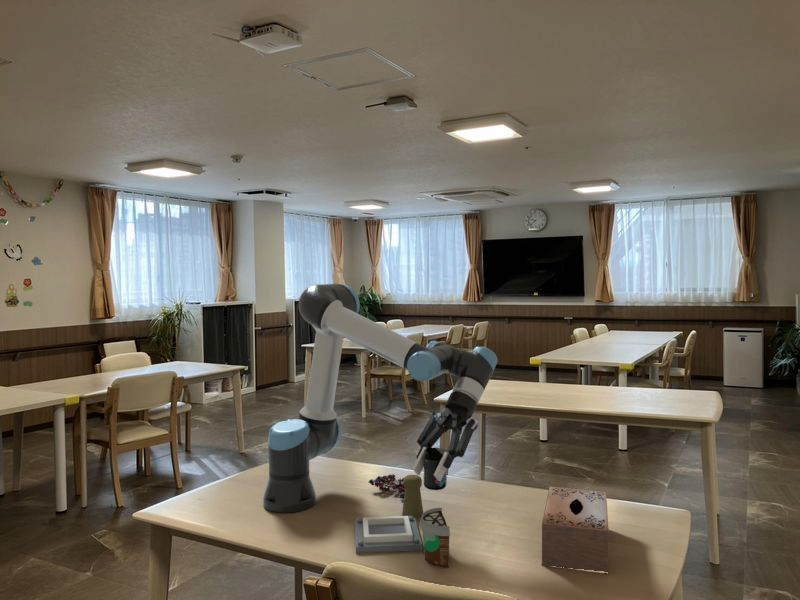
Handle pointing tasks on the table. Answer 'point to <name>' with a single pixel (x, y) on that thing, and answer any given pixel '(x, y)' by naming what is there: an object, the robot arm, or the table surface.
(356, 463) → the table surface
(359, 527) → the base plate
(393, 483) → the toy collection
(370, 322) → the robot arm
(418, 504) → the cork
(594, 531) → the tissue box cover
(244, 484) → the table surface
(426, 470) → the supplement container
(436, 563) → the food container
